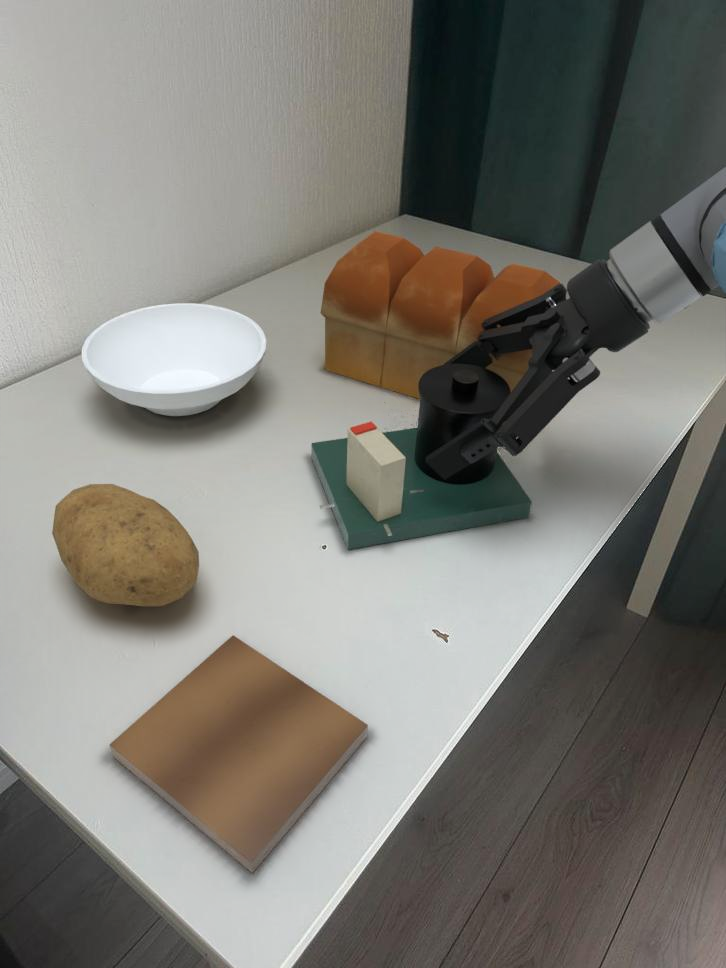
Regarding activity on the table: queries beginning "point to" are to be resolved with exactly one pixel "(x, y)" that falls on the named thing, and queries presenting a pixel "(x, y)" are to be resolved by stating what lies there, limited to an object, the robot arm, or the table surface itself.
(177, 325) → the bowl
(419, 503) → the green rectangular slab
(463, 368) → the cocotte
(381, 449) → the cream juice carton
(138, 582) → the potato
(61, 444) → the table surface
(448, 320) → the bread
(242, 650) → the board
